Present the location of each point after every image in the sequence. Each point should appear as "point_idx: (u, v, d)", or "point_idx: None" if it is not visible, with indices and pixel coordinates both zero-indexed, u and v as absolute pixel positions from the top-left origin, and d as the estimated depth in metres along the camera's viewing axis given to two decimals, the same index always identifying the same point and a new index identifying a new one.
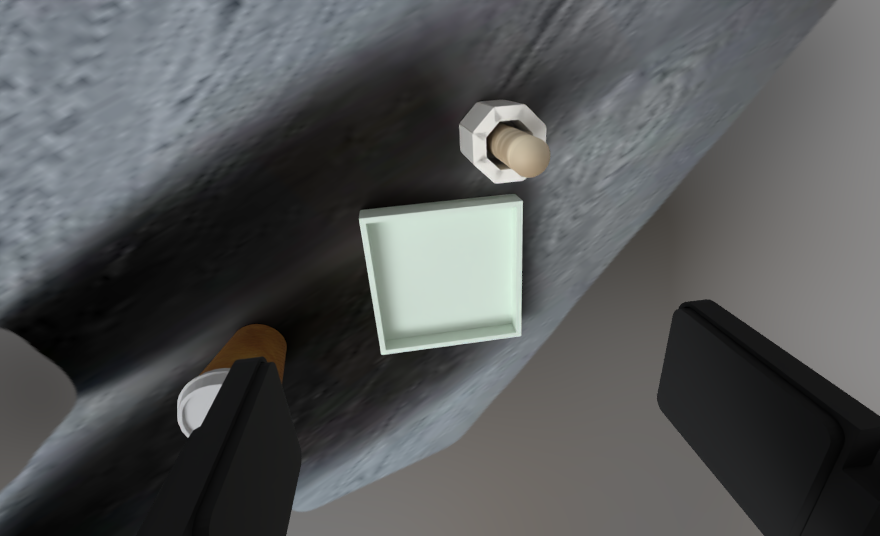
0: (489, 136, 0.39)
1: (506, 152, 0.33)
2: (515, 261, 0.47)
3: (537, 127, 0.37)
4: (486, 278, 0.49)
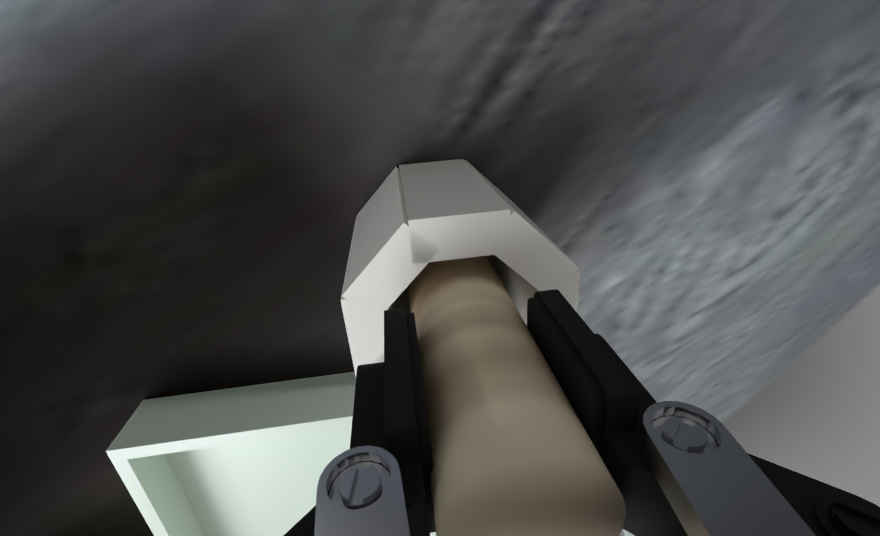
0: None
1: None
2: None
3: (552, 274, 0.12)
4: None
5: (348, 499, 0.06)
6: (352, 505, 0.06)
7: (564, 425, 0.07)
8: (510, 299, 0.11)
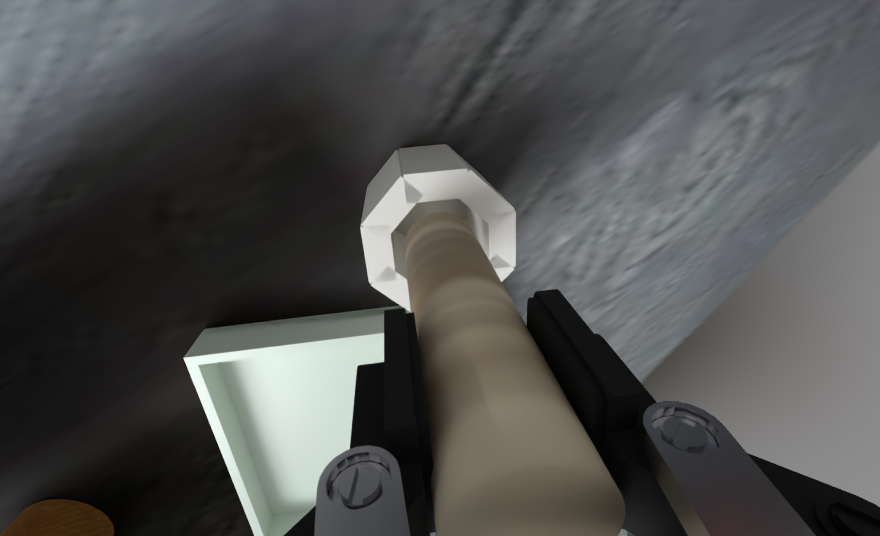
0: (411, 281, 0.13)
1: None
2: None
3: (497, 213, 0.18)
4: None
5: (348, 499, 0.06)
6: (352, 505, 0.06)
7: (564, 425, 0.07)
8: (510, 299, 0.11)
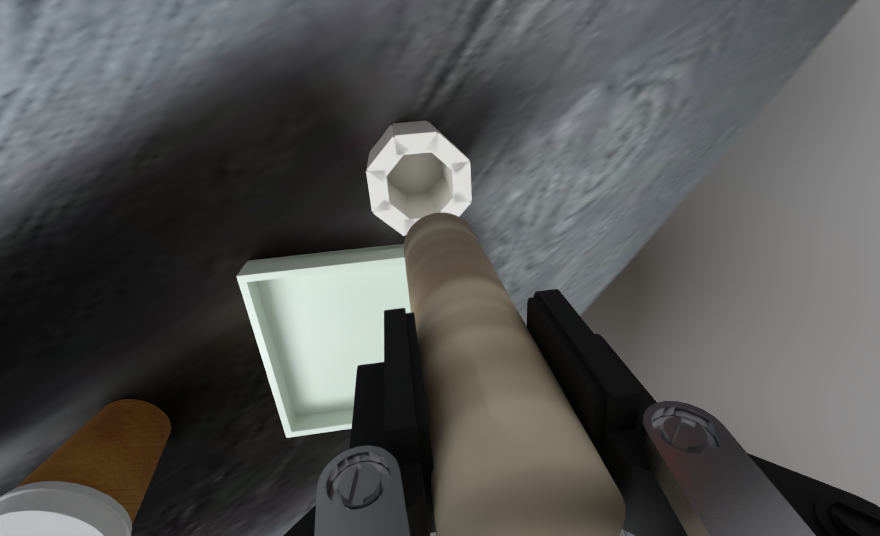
0: (411, 282, 0.13)
1: None
2: None
3: (457, 162, 0.27)
4: None
5: (348, 499, 0.06)
6: (352, 505, 0.06)
7: (564, 425, 0.07)
8: (510, 299, 0.11)
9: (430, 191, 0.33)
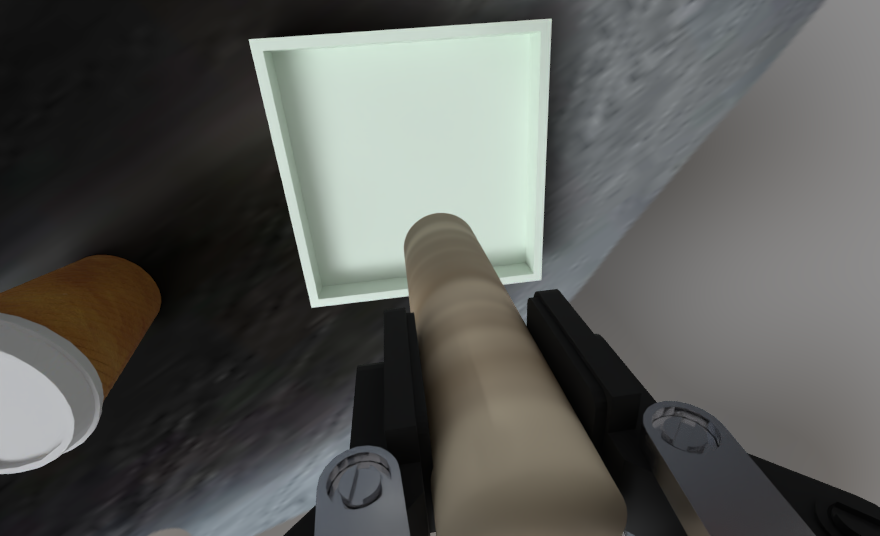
0: (411, 282, 0.13)
1: None
2: (535, 144, 0.28)
3: None
4: (484, 180, 0.30)
5: (348, 499, 0.06)
6: (352, 505, 0.06)
7: (565, 428, 0.07)
8: (510, 300, 0.11)
9: None
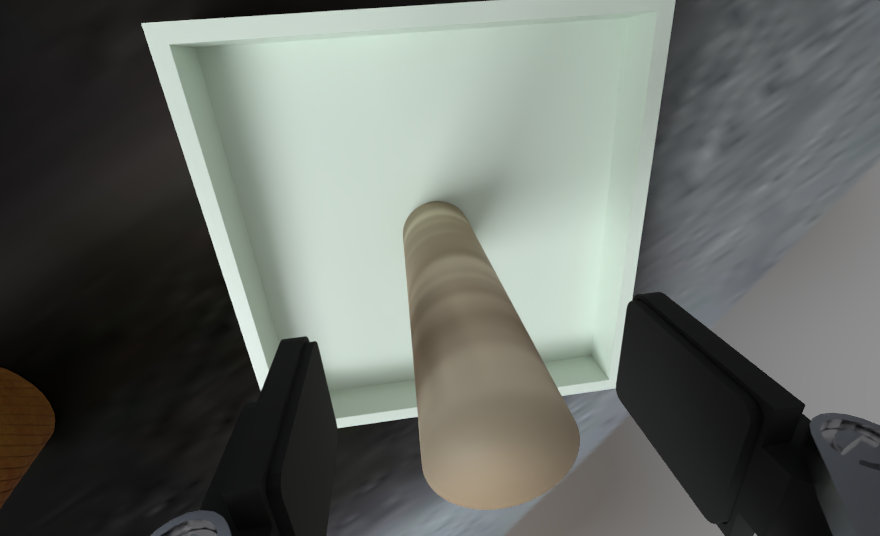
0: (408, 261, 0.15)
1: (416, 396, 0.09)
2: (626, 195, 0.17)
3: None
4: (539, 245, 0.20)
5: None
6: None
7: (529, 366, 0.08)
8: (495, 275, 0.13)
9: None
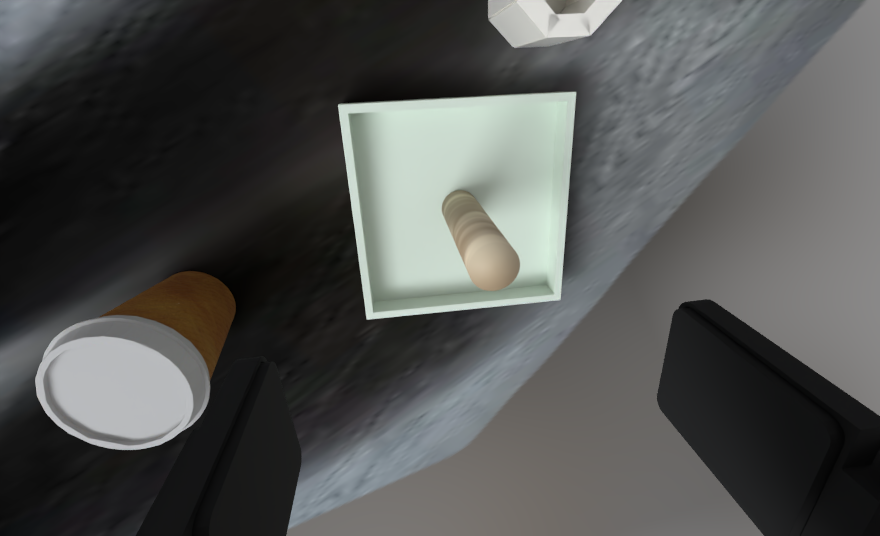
0: (450, 217, 0.31)
1: (463, 255, 0.25)
2: (559, 188, 0.34)
3: None
4: (515, 215, 0.36)
5: None
6: None
7: (504, 240, 0.24)
8: None
9: None
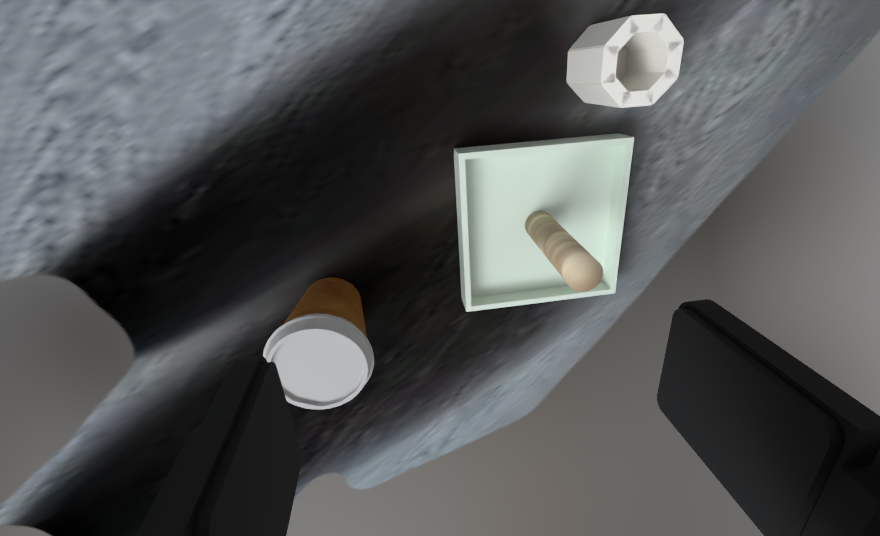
0: (538, 234, 0.41)
1: (560, 266, 0.35)
2: (617, 208, 0.43)
3: (674, 41, 0.33)
4: (580, 228, 0.46)
5: None
6: None
7: (591, 256, 0.34)
8: None
9: None
